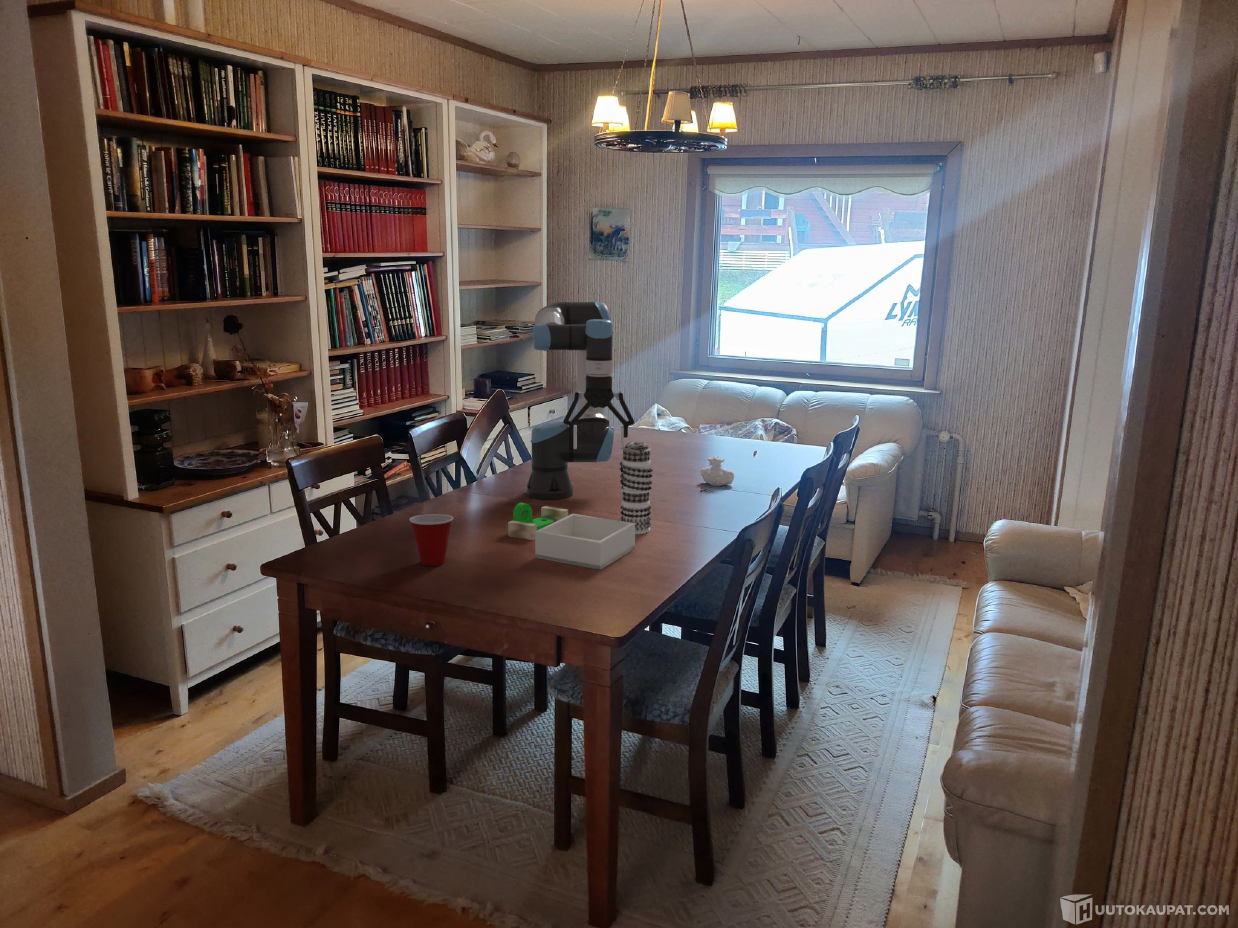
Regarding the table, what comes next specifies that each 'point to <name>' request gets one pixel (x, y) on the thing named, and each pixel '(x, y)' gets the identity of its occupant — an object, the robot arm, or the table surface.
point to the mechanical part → (529, 516)
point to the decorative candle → (636, 486)
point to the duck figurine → (716, 473)
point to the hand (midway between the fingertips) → (598, 448)
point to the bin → (585, 541)
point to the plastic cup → (432, 537)
